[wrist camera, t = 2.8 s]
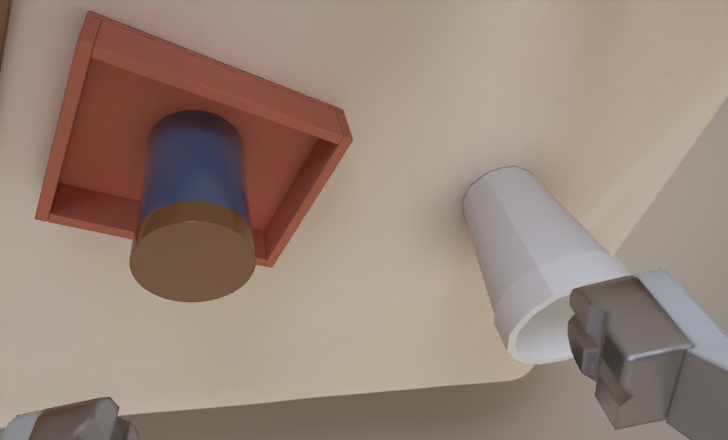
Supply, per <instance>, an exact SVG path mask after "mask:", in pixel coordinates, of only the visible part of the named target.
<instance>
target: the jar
mask: <svg viewBox="0 0 728 440" xmlns="http://www.w3.org/2000/svg"><path fill="white" fill-rule="evenodd" d="M255 266H256V254H255V243H254V235H253V232H252V230H251V220H250V208H249V197H248V186H247V175H246V164H245V153H244V144H243V140H242V138H241V136H240V134H239V132H238V131H237V130H236V128H235V127H234V126H233V125H232V124H230V123H229V122H228V121H227V120H225V119H224V118H222V117H220V116H218V115H215V114H213V113H209V112H205V111H198V110H187V111H180V112H177V113H173V114H171V115H168V116H167V117H165V118H163V119H162V120H160V121H159V122H158V123H157V124H156V125H155V126H154V127H153V129H152V130H151V132H150V134H149V136H148V140H147V146H146V154H145V162H144V170H143V178H142V185H141V193H140V201H139V209H138V216H137V224H136V230H135V231H134V235H133V239H132V246H131V254H130V269H131V272H132V274H133V276H134V278H135V279H136V281H137V282H138V283H139V284H140V285H141V286H142V287H143V288H145V289H146V290H148V291H149V292H151V293H153V294H155V295H157V296H159V297H162V298H165V299H169V300H174V301H180V302H203V301H209V300H214V299H218V298H221V297H224V296H226V295H229V294H231V293H233V292H234V291H236V290H238V289H239V288H240V287H242V286H243V285H244V284H245V283H246V282H247V281H248V280H249V278H250V277H251V276H252V274H253V272H254V269H255Z"/></svg>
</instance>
